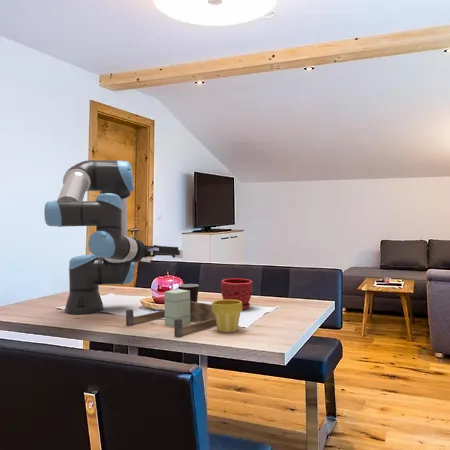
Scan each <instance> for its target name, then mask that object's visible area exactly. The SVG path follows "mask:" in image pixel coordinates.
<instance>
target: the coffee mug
mask: <svg viewBox="0 0 450 450" xmlns="http://www.w3.org/2000/svg"><path fill="white" fill-rule="evenodd" d="M177 287H178V288H177V289H181V290H188V291H190V301H193V302H198V298H199V289H200V288H199V287H200V285H199V284H196V283H185V284H184V283H183V284H179V285H178V286H177Z"/></svg>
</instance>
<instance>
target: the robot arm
mask: <svg viewBox="0 0 450 450" xmlns="http://www.w3.org/2000/svg"><path fill="white" fill-rule="evenodd" d="M133 175H134V174H133V169H132V164H131V162H129V161H127V160H119V159H117V160H114V159H113V160H111V159H109V160H106V159H105V160H99V159H98V160H97V159H96V160H95V159H94V160H93V159H87V160H84V161H81V162H78V163H76V164H74V165H73V166H70V168H68V170H67V171H65V173H64V175H63V178H62V184H63V185H62V187H61V190H60V192H59V195H58V198H57V200H52V201H51V200H49V201H47V202H46V203H45V204H44V212H43V213H44V222H45V224H46V225H47V226H49V227H58V228H61V227H62V228H63V227H96V231H94V232H92V234H91V235H90V236H89V237H90V238H89V240H88V243H87V245H88V250H89V251H90V254H84V255H83V254H82V255H78V256H74V257H71V258H70V260H69V262H68V263H69V264H68V271H69V272H68V275H69V277H68V278H69V279H68V280H69V282H68V283H69V284H68V285H69V286H68V288H69V292H68V293H69V294H68V296H67V297H68V298H67V300H66V304H65V306H64V307H65V308H64V309H65V313H66V314H71V315H72V314H73V315H86V314H87V315H88V314H94V313H99V312H101V311H103V310H104V303H103V301H102V298H101V294H100V291H99V286H105V285H106V286H108V285H121V286H122V285H125V284H126V285H129V284H131V283H133V281H134V276H135V264H136V263H137V262H145V263H151V259H152V258H154V257H156V256H161V257H162V256H165V257H166V256H167V257H168V256H170V257H171V258H173V259H175V258H177V259H183V257H184V256H183V255H184V254H183V251H184V250H181V249H179V247H178V246H164V245H157V244H154V245H147V244H144V242H143V241H142V240H140V239H138V238H133V237H130V236H128V198H130V197H131V196H132V195H131V192H134V191H135V181H134V176H133ZM87 192H99V194H98V195H96V199H95V200H89V201H88V200H86V201H85V200H84V198H85V195H86V193H87Z"/></svg>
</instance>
